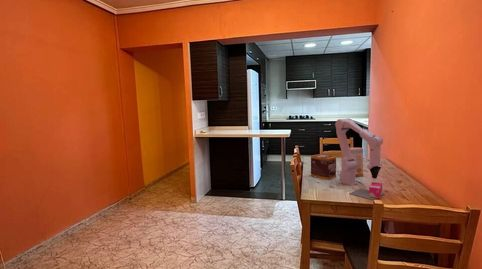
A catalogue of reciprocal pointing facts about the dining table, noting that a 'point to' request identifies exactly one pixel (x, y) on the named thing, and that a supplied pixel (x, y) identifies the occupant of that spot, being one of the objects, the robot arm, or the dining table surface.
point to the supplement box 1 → (323, 166)
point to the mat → (363, 194)
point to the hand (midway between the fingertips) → (374, 178)
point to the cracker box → (358, 160)
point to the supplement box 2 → (375, 190)
